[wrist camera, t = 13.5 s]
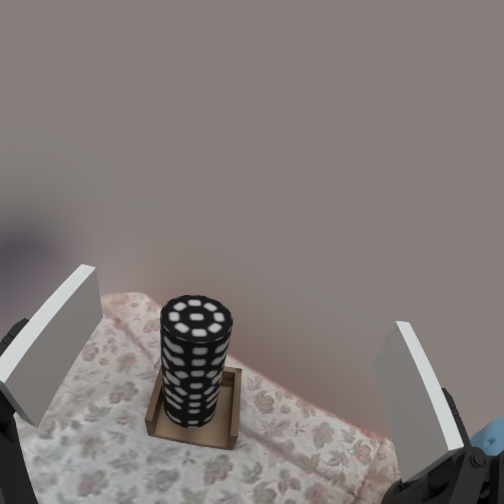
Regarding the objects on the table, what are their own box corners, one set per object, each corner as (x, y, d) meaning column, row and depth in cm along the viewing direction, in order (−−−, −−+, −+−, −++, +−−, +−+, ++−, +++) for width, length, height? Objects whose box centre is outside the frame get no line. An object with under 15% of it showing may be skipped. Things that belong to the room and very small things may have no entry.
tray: (236, 387, 48) (241, 368, 45) (232, 450, 36) (237, 436, 34) (165, 374, 47) (164, 355, 44) (148, 435, 35) (144, 419, 33)
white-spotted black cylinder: (210, 386, 46) (225, 295, 37) (219, 426, 39) (240, 342, 30) (162, 387, 43) (160, 293, 34) (165, 428, 36) (160, 342, 27)
